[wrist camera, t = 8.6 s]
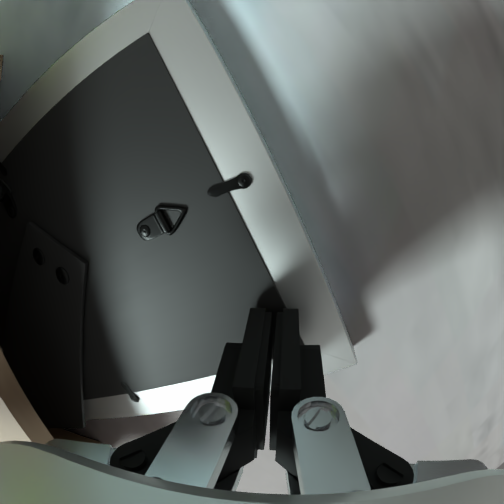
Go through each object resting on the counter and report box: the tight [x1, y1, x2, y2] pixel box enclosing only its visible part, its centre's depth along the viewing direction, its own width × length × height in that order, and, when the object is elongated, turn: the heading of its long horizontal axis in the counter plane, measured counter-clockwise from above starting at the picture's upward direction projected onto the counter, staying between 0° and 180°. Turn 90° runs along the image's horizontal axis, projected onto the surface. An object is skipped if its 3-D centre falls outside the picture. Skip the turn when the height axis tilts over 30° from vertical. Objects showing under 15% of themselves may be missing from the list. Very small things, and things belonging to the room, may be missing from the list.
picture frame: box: [0, 0, 357, 428], centre depth 12 cm, size 16×3×21 cm
